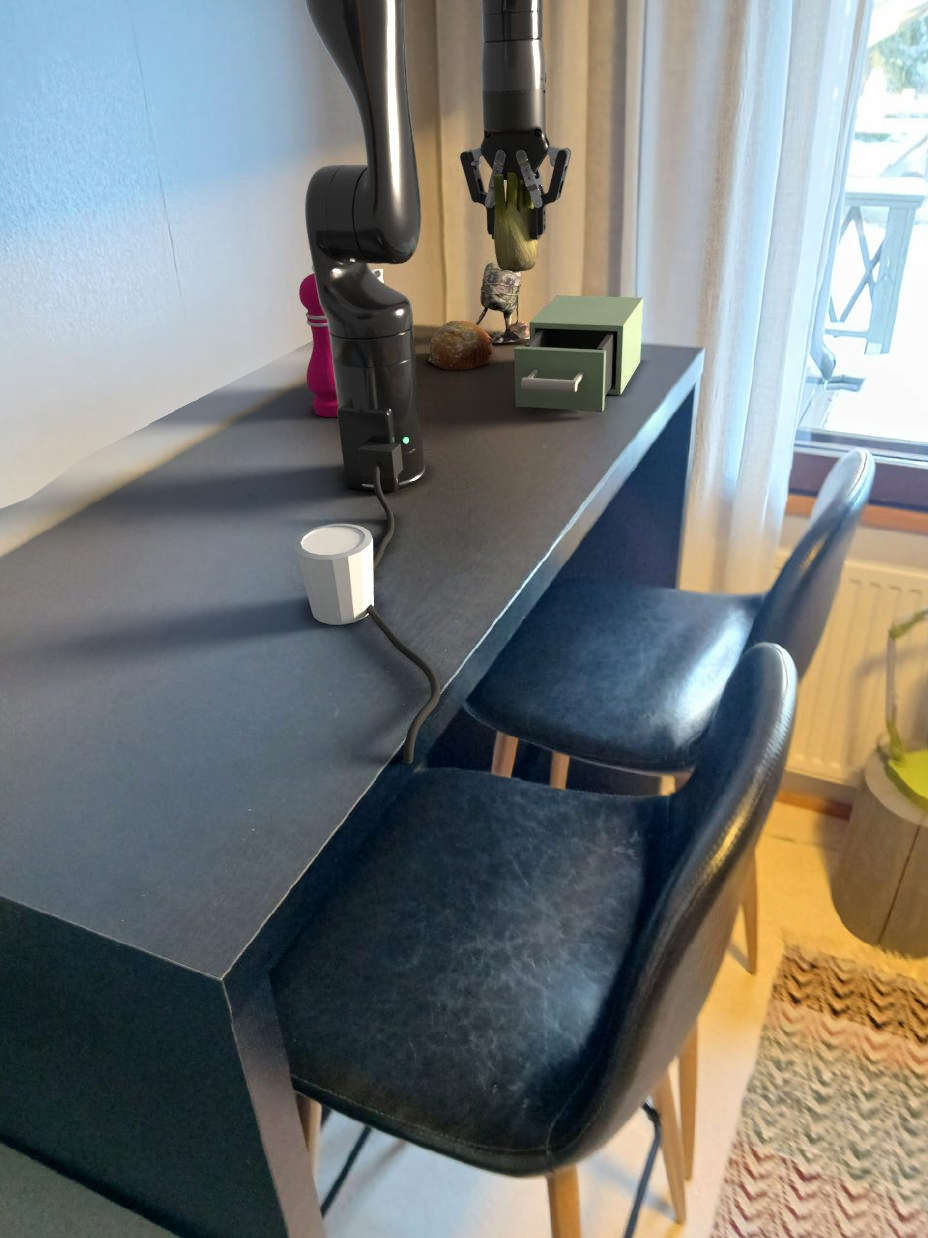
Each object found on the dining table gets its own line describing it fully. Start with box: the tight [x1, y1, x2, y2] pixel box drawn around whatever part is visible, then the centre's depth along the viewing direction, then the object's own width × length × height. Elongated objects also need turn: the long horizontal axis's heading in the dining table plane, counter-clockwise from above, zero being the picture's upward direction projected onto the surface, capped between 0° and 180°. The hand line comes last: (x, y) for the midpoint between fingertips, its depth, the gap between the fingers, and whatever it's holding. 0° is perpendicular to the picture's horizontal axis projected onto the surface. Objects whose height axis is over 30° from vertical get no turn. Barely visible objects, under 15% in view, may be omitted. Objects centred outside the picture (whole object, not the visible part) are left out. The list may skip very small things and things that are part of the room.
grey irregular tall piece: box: [475, 260, 530, 344], centre depth 152 cm, size 8×11×20 cm
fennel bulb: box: [493, 172, 539, 272], centre depth 118 cm, size 6×5×12 cm
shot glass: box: [293, 523, 375, 626], centre depth 83 cm, size 7×7×7 cm
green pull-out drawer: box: [513, 328, 618, 413], centre depth 126 cm, size 20×12×8 cm, turn 161°
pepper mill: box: [298, 264, 338, 418], centre depth 126 cm, size 7×7×20 cm
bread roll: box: [428, 320, 494, 371], centre depth 147 cm, size 10×10×8 cm
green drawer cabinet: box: [528, 294, 644, 396], centre depth 136 cm, size 16×13×10 cm
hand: (516, 237), depth 119 cm, fingers closed on fennel bulb, 4 cm apart
